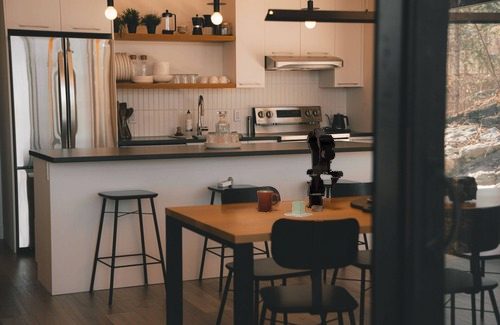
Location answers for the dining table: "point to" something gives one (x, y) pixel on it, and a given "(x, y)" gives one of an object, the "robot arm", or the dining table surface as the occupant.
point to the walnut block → (317, 208)
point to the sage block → (298, 207)
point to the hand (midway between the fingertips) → (324, 189)
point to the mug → (266, 200)
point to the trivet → (298, 214)
